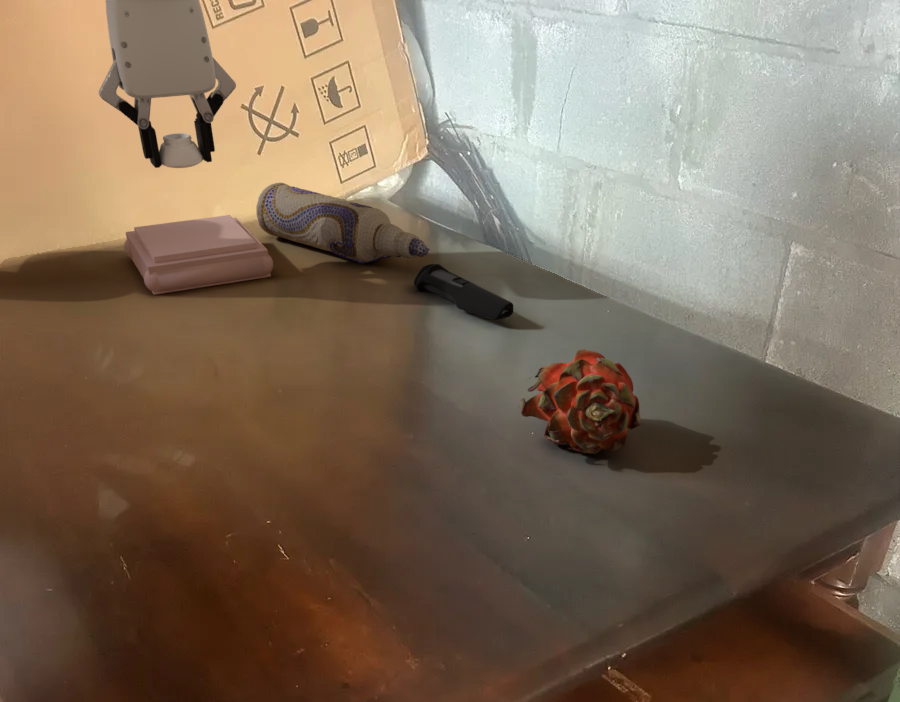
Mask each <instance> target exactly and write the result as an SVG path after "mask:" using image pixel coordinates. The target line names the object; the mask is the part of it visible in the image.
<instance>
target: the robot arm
mask: <svg viewBox="0 0 900 702" xmlns="http://www.w3.org/2000/svg"><path fill="white" fill-rule="evenodd" d="M105 13H106V14H105V15H106V22H107V23H106V24H107V30H108V39H109V44H110V50H111V51H110V52H111V58H112V64H111V65H110V68H109V70H108V72H107V74H106V76H105V78H104V79H103V81H102V84H101V86H100V88H99V89H98V96H99V97H100V98H101V100H103V101H104V102H106V103H107V104H108V105H109V106H111V107H113V108H114V109H116V110H117V111H119V112H120V113H121V114H122V115H124V116H125V117H126V118H127V119H129V120H130V121H132V122H133V124H135V125H136V126H137V128H138V132H139V137H140V143H141V149H142V154H143V157H144V159H146V160H148V159H149V162H150V164H151V165H152V166H153V167H154V168H155V169H158V168H161V167H162V166H163V165H161V159H160V154H159V150H160V147H159V144H158V138H157V132H156V129H155V128H154V127H153V126H152V121H151V119H150V118H151V105H152V99H157V98H170V97H181V96H182V97H183V96H189V98H190V100H191V102H192V104H193V107H194V109H195V111H196V113H195V120H194V121H193V124H194V130H195V137H196V142H197V147H198V148H199V150H200V152H201V153H202V155H203V158H204V160H203V161H204V162H206V163H212V162H213V158H212V153H215V151H216V149H215V148H216V147H215V141H214V135H213V127H212V122H213V121H214V120H215V116H216V115H217V113H218V111H219V110H220V109H221V108H222V106H223V104H224V102H225V101H226V99H228V98H229V97H230V96H231V94H232V93H233V92H234V91H235V90H236V88H237V83H236V81H235V80H234V79H233V78H232V77H231V75H230V74H229V73H227V71H226V70H225V69H224V68H223V67H222V66H221V65H220V63H219V62H218V61H217V60H216V59H215V58H214V57H213V52H212V47H211V43H210V39H209V38H210V37H209V33H208V29H207V25H206V20H205V17H204V13H203V9H202V4H201V2H200V0H105ZM216 82H217V86H216ZM118 88H120V89H121V90H123V91H124V93H126V95H127V96H129V97H131V98H134V101H133V105H132V104H131V103H129V102H128V101H127V100H125V99H124V98H122V97H121V96H120V95H119V94H118V93H117V90H118ZM214 88H215V89H214ZM213 89H214V90H213ZM210 91H212V92H210ZM209 92H210V93H209ZM207 93H209V95H208V96H207V97H206V95H205V94H207Z"/></svg>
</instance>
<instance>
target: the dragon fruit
mask: <svg viewBox="0 0 900 702" xmlns="http://www.w3.org/2000/svg"><path fill="white" fill-rule="evenodd" d="M572 359H573V360H572V361H569V362H553V363H549V364H548V365H546V366H541V367H540V368H539V369H538V371H537V372H536V373H535V376H534V378H537V381H536V382H535V383H534V384H533V385H532V386H530V387H529V388H528V389H527V392H529V393H531V392H533V391H535V390H536V391H538V392H540V393H537V394H535V395H534V396H532V397H530V398H529V399H527V400H526V399H525V398H524V397H523V398H521V399H520V401H519V411H520V414H521V416H522V417H524V418H529V417H534V418H536V419H538V420H541V421H545V422H547V425H546V428H545V431H544V434H543V435H544V437H545V438H546V439H547V440H548V441H549V442H550V443H552V444H553V445H564V444H569V446H570V448H571V449H573V450H574V451H576V452H580V453H583V454H592V455H596V454H598V453H599V452H600V451H601V450H605V451H608V452H611V453H612V452H614V451H617V450H619V449H621V448H624V447H625V446H626V443H627V442H626V441H627V439H628V434H629V429H630V430H633V429H636V428H637V427H639V426H642V425H643V422H642V421H641V414H640V401H639V398H638V396H637V395H635V394H634V383H633V380H632V378H631V376H630V375H629V373H628V371H627V369H625V367H624V366H623V365H622V364H621V363H619V362H613V361H612V360H611V359H609V358H606V357H605V356H604V355H603V354H601V353H600V352H597V351H595V350H587V349H584V348H583V349H577V351H576V353H575V354H574V357H573V358H572ZM529 379H531V377H528V379H526V380H527V381H528V380H529ZM527 381H526V382H527Z"/></svg>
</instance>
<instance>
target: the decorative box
mask: <svg viewBox="0 0 900 702" xmlns="http://www.w3.org/2000/svg"><path fill="white" fill-rule="evenodd" d="M125 237H126V240H125V242H124V245H123V246H124V247H123V248H124V252H125V253H126V255H127V256H128V257H129V258H130V259H131V260H132V262H133V264H134V265H135V267H136V268H137V271H138V272H139V273H140V275H141V277H142V279H143V283H144V285H145V287H146V288H147V289H148V290H150V291H151V293H152V294H153V295H154V296H156V295H163V294H169V293H174V292H180V291H188V290H194V289H200V288H207V287H212V286H219V285H226V284H232V283H238V282H239V283H240V282H246V281H251V280H258V279H264V278H265V279H266V278H270V277H272V271H273V269H274V260H273V258H272V256H271V255H270V254H269V250H268V249H267V248H266V246H264V244H263V243H262V242H261V241H260V240H259V239H258V238H257V237H256V236H255V235H254V234H253V233H252V232H251V231H250V230H249V229H248V228H247V227H246V226H245V224H243V223H242V222H241V220H239V219H238V218H237V217H233V216H232V215H230V214H225V215H219V216H211V217H204V218H203V217H202V218H194V219H187V220H181V221H180V220H179V221H172V222H165V223H164V222H163V223H157V224H149V225H142V226H134V227H133V230H131V231H125Z"/></svg>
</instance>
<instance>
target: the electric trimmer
mask: <svg viewBox="0 0 900 702" xmlns="http://www.w3.org/2000/svg"><path fill="white" fill-rule="evenodd" d="M413 286H414V287H415V290H416V291H424V290H427V291H429V292H431V293H434V294H436V295H437V296H441V297H442V298H444V299H447V300H449V301H451V302H454V303H455V306H456V308H458V310H462V311H465V312H467V313H470V314H473V315H476V316H480V317H483V318H486V319H489V320H492V321H500V320H503V319H506V318H509V317H511V316H512V315H514V303H512V302H511V301H510V300H507V299H506V298H504V297H502V296H499V295H497V294H495V293H494V292H492V291H490V290H488V289H485V288H484V287H481V286H480V285H478V284H476V283H474V282H472V281H470V280H468V279H466V278H464V277H462V276H459V275H457V274H455V273H453V272H451V271H450V270H448V269H446V268H445V267H444V266H442V265H441V264H439V263H431V264H426V265H424V266H422V267H421V269H420V270H419V271H418V273H417V274H416V276H415V277H414V280H413Z"/></svg>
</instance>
